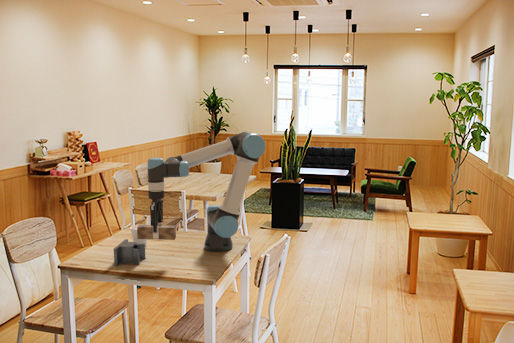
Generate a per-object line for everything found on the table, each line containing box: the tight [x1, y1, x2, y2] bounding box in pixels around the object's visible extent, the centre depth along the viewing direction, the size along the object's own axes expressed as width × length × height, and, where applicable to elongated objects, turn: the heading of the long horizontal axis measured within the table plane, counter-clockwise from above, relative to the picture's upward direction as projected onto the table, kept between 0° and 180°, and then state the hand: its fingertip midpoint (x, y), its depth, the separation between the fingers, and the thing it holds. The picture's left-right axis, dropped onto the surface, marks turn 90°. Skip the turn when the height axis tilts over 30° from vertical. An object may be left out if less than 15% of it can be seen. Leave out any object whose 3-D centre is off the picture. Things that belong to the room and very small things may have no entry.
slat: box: [137, 224, 177, 241], centre depth 247 cm, size 18×4×6 cm, turn 89°
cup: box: [129, 224, 148, 247], centre depth 272 cm, size 10×10×11 cm
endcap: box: [113, 238, 146, 267], centre depth 250 cm, size 12×15×8 cm
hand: (157, 236), depth 247 cm, fingers closed on slat, 4 cm apart
